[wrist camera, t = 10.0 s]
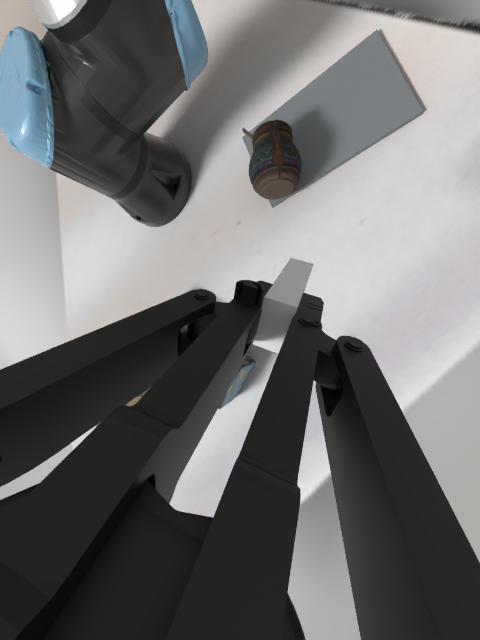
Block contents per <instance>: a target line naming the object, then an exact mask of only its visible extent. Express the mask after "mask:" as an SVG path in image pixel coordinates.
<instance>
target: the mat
mask: <svg viewBox="0 0 480 640" xmlns="http://www.w3.org/2000/svg"><path fill="white" fill-rule="evenodd" d="M422 113H423V109H422V108H421V106H420V104H419V102H418V101H417V99H416V97H415V95H414V94H413V92H412V90H411V88H410V87H409V85H408V83H407V81H406V80H405V78H404V76H403V74H402V73H401V71H400V69H399V67H398V66H397V64H396V62H395V60H394V59H393V57H392V55H391V53H390V52H389V50H388V48H387V46H386V45H385V43H384V41H383V39H382V38H381V36H380V34H379V32H378V31H377V30H376V31H375V32H373V33H372V34H371V35H370V36H368V37H367V38H366V39H365V40H363V41H362V42H361V43H360V44H358V45H357V46H356V47H355V48H353V49H352V50H351V51H350V52H348V53H347V54H346V55H345V56H343V57H342V58H341V59H340V60H338V61H337V62H336V63H335V64H333V65H332V66H331V67H330V68H328V69H327V70H326V71H325V72H323V73H322V74H321V75H320V76H318V77H317V78H316V79H315V80H313V81H312V82H311V83H310V84H308V85H307V86H306V87H305V88H303V89H302V90H301V91H300V92H298V93H297V94H296V95H295V96H293V97H292V98H291V99H290V100H288V101H287V102H286V103H285V104H283V105H282V106H281V107H280V108H278V109H277V110H276V111H275V112H273V113H272V114H271V115H270V116H268V117H267V118H266V119H265V120H263V121H262V122H261V123H260V124H258V125H257V126H256V127H255V128H253V129H252V130H251V131H250V133H251V134H252V135H253V134H254V132H255V130H256V129H257V128H258V127H259V126H260V125H261V124H263V123H265V122H267V121H272V120H276V119H277V120H282V121H284V122H286V123H288V124H289V125H290V127H291V129H292V136H293V143H294V145H295V146H296V148H297V149H298V151H299V154H300V156H301V160H302V169H301V175H300V181H299V183H298V185H297V186H296V188H295V189H294V190H293V191H292V192H291V193H290V194H289V195H288V196H286V197H283V198H280V199H275V200H274V199H273V200H271V199H269V201H270V204H271V206H272V207H275V206H276V205H278V204H280V203H281V202H283V201H284V200H286V199H288V198H289V197H291V196H292V195H294V194H296V193H297V192H299V191H300V190H302V189H304V188H305V187H307V186H308V185H310V184H312V183H313V182H315V181H316V180H318V179H320V178H321V177H323V176H324V175H326V174H327V173H329V172H331V171H332V170H334V169H335V168H337V167H339V166H340V165H342V164H343V163H345V162H347V161H348V160H350V159H351V158H353V157H355V156H356V155H358V154H359V153H361V152H363V151H364V150H366V149H367V148H369V147H371V146H372V145H374V144H375V143H377V142H379V141H380V140H382V139H383V138H385V137H386V136H388V135H390V134H391V133H393V132H394V131H396V130H398V129H399V128H401V127H402V126H404V125H406V124H407V123H409V122H410V121H412V120H414V119H415V118H417V117H418V116H420V115H422ZM242 138H243V140H244V142H245V145H246V147H247V150H248V152H249V154H250V157H252V154H253V144H252V139H251V138H250V137H248V136H247V135H245V136H243V137H242Z"/></svg>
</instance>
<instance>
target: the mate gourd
mask: <svg viewBox="0 0 480 640" xmlns="http://www.w3.org/2000/svg"><path fill="white" fill-rule="evenodd" d="M243 132H244V133H245V134H246V135H247V136H248V137H250V138H251V139H252V144H253V154H252V157H251V160H250V164H249V176H250V180H251V183H252V185H253V188H254V190H255V192H256V193H258V194H259V195H260V196H262V197H263V198H266V199H271V200H273V199H274V200H275V199H280V198H283V197H286V196H288V195H289V194H290V193H291V192H292V191H293V190H294V189H295V188H296V186H297V185H298V183H299V181H300V175H301V169H302V160H301V156H300V154H299V151H298V149H297V148H296V146H295V145H294V143H293V136H292V129H291V127H290V125H289V124H288V123H286V122H284V121H282V120H277V119H276V120H272V121H267V122H265V123H263V124H261V125H260V126H259V127H258V128H257V129H256V130H255V132H254V134H253V135H252V134H251V133H250V132H248V131H247V130H246V129H244V127H243Z"/></svg>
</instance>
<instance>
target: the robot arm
mask: <svg viewBox="0 0 480 640" xmlns="http://www.w3.org/2000/svg"><path fill="white" fill-rule="evenodd" d="M29 2H30V5H31V7H32V10H33V13H34V15H35V16H36V18H37V19H38V20H39V21H40V22H41V23H42V24H43V25H44V26H45V27H46V28H47V29H48V31H47V33H46V35H45V36H44V38H43V39H42V40H39V39H38V38H37V36H36V35H35V34H34V33H33V32H31V31H28V30H26V29H24V28H22V27H15V28H14V31H10V32H9V34H8V35H7V37H6V39H5V41H4V44H3V46H2V50H1V53H0V128H1V130H2V133H3V135H4V137H5V138H6V140H7V141H8V143H9V144H10V145H11V146H12V147H13V148H14V149H16V150H17V151H19V152H20V153H22V154H24V155H25V156H27V157H29V158H31V159H33V160H35V161H36V162H38V163H40V164H41V165H42V166H43V167H45V168H48V169H51V170H53V171H55V172H58V173H60V174H62V175H64V176H66V177H68V178H70V179H72V180H74V181H77V182H79V183H81V184H83V185H85V186H87V187H89V188H91V189H94V190H96V191H98V192H100V193H102V194H104V195H106V196H108V197H110V198H112V199H114V200H115V201H116V202H117V203H118V204H119V205H120V206H121V207H122V208H123V209H124V210H125V211H126V212H127V213H128V214H129V215H130V216H131V217H133V218H134V219H135V220H137V221H138V222H141V223H143V224H145V225H147V226H151V227H159V226H163V225H165V224H167V223H169V222H170V221H172V220H173V219H174V218H175V217H176V216H177V215H178V214H179V212H180V211H181V210H182V208H183V206H184V204H185V202H186V200H187V197H188V194H189V191H190V185H191V171H190V166H189V163H188V161H187V159H186V157H185V155H184V154H183V153H182V152H181V151H180V150H179V149H178V148H177V147H176V146H175V145H173V144H172V143H171V142H169V141H167V140H164V139H161V138H159V137H157V136H154V135H152V134H149V133H147V132H146V131H147V130H148V129H149V128H150V127H151V126H152V124H153V123H154V122H155V121H156V120H157V119H158V118H159V117H160V116H161V115H162V114H163V113H164V112H165V111H166V110H167V109H168V107H169V106H170V105H171V104H172V103H173V102H174V101H175V100H176V99H177V98H178V97H179V96H180V95H181V94H182V93H183V92H184V90H185V91H188V90H189V88H190V84H191V83H192V82H193V81H194V80H195V78H196V77H197V76H198V75H199V74H200V73H201V71H202V70H203V69H204V68H205V66H206V63H207V58H208V47H207V42H206V39H205V36H204V33H203V30H202V27H201V24H200V22H199V19H198V16H197V14H196V11H195V9H194V6H193V4H192V1H191V0H29ZM312 267H313V264H311V263H308V262H304V261H300V260H297V259H293V258H291V259H290V260H289V262H288V263H287V265H286V266H285V268H284V269H283V270H282V272H281V273H280V275H279V276H278V278H277V279H276V281H275V282H274V284H270V283H267V282H264V281H258V282H255V281H250V280H241V281H238V282H236V288H235V294H234V299H233V300H232V301H231V302H230V303H223V302H216V296H215V294H214V293H212V292H210V291H207V290H204V289H199V290H192V291H189V292H187V293H185V294H182V295H180V296H177V297H175V298H173V299H170V300H168V301H165V302H163V303H160V304H158V305H156V306H153V307H151V308H148V309H146V310H144V311H141V312H139V313H136V314H134V315H131V316H129V317H127V318H124V319H122V320H119V321H117V322H115V323H112V324H110V325H107V326H105V327H103V328H100V329H98V330H95V331H93V332H90V333H88V334H86V335H83V336H81V337H78V338H76V339H74V340H71V341H69V342H66V343H64V344H62V345H59V346H57V347H54V348H52V349H49V350H47V351H45V352H42V353H40V354H37V355H35V356H33V357H30V358H28V359H25V360H23V361H21V362H18V363H16V364H13V365H11V366H8V367H6V368H4V369H1V370H0V487H1V486H3V485H5V484H7V483H9V482H11V481H12V480H14V479H16V478H18V477H20V476H21V475H23V474H25V473H27V472H28V471H30V470H32V469H34V468H35V467H36V466H38V465H40V464H41V463H43V462H44V461H46V460H47V459H49V458H50V457H52V456H53V455H55V454H56V453H58V452H59V451H60V450H62V449H63V448H65V447H66V446H68V445H69V444H70V443H72V442H73V441H75V440H76V439H78V438H79V437H80V436H82V435H83V434H85V433H86V432H87V431H89V430H90V429H92V428H93V427H95V426H96V425H97V424H99V423H100V422H101V423H100V424H99V425H98V426H97V427H96V428H95V429H94V430H93V431H92V432H91V433H90V434H89V435H88V436H87V437H86V438H85V439H84V440H83V441H82V442H81V443H80V444H79V445H78V446H77V447H76V448H75V449H74V450H73V451H72V452H71V453H70V454H69V455H68V456H67V457H66V458H65V459H64V460H63V461H62V462H61V463H60V464H59V465H58V466H57V467H56V468H55V469H54V470H53V471H52V472H51V473H50V474H49V475H48V476H47V477H46V478H45V479H44V480H43V481H42V482H41V483H39V484H37V485H34V486H32V487H30V488H27V489H25V490H23V491H20V492H18V493H16V494H14V495H11V496H9V497H6V498H4V499H2V500H0V640H305V636H304V633H303V630H302V627H301V624H300V621H299V618H298V616H297V613H296V611H295V608H294V606H293V603H292V602H291V599H290V597H289V595H288V593H287V591H288V583H289V577H290V569H291V563H292V556H293V549H294V541H295V534H296V527H297V521H298V514H299V506H300V488H299V487H298V486H297V480H298V472H299V466H300V460H301V454H302V448H303V442H304V435H305V429H306V423H307V417H308V411H309V405H310V398H311V392H312V386H313V380H314V381H316V392H317V398H318V403H319V409H320V414H321V420H322V425H323V431H324V437H325V442H326V448H327V453H328V459H329V464H330V470H331V475H332V481H333V486H334V492H335V498H336V503H337V509H338V514H339V520H340V525H341V531H342V537H343V542H344V547H345V553H346V559H347V564H348V570H349V575H350V581H351V587H352V592H353V597H354V602H355V609H356V613H357V620H358V625H359V631H360V636H361V640H480V563H479V561H478V559H477V557H476V555H475V553H474V551H473V549H472V547H471V545H470V543H469V541H468V539H467V537H466V535H465V533H464V531H463V529H462V528H461V526H460V524H459V522H458V520H457V518H456V516H455V514H454V512H453V510H452V508H451V506H450V504H449V502H448V500H447V498H446V496H445V495H444V492H443V491H442V489H441V487H440V485H439V483H438V481H437V479H436V477H435V475H434V473H433V471H432V469H431V467H430V465H429V463H428V461H427V459H426V458H425V456H424V454H423V452H422V450H421V448H420V446H419V444H418V442H417V440H416V438H415V436H414V434H413V432H412V430H411V429H410V426H409V424H408V423H407V420H406V419H405V417H404V415H403V413H402V411H401V409H400V407H399V405H398V403H397V401H396V399H395V397H394V395H393V393H392V391H391V389H390V387H389V385H388V383H387V381H386V380H385V378H384V376H383V374H382V372H381V370H380V368H379V366H378V364H377V362H376V360H375V358H374V356H373V354H372V352H371V350H370V349H369V347H368V346H367V345H366V344H365V343H363V342H362V341H361V340H359V339H357V338H355V337H350V336H340V337H339V338H338V339H337V340H335V339H333V338H331V337H329V336H328V335H326V334H325V333H324V332H323V331H322V324H321V316H322V311H323V305H324V302H323V301H322V299H321V298H319V297H316V296H313V295H309V294H306V293H304V291H305V288H306V285H307V282H308V279H309V276H310V273H311V270H312ZM184 326H186V330H184V331H182V332H181V329H182V328H183V327H184ZM253 339H254V342H253V345H256V346H259V347H261V348H264V349H267V350H270V351H272V352H275V353H278V356H277V359H276V361H275V364H274V367H273V369H272V372H271V374H270V377H269V380H268V382H267V385H266V387H265V390H264V392H263V395H262V398H261V400H260V403H259V405H258V408H257V411H256V413H255V416H254V418H253V421H252V423H251V426H250V429H249V431H248V434H247V436H246V439H245V441H244V444H243V447H242V449H241V452H240V454H239V457H238V458H237V460H236V462H235V464H234V467H233V469H232V472H231V474H230V477H229V479H228V482H227V484H226V487H225V489H224V492H223V495H222V497H221V500H220V502H219V505H218V507H217V510H216V512H215V515H214V518H212V517H207V516H201V515H196V514H191V513H185V512H180V511H177V510H175V509H174V508H172V507H171V505H170V504H169V503H170V501H171V498H172V496H173V493H174V490H175V487H176V484H177V482H178V480H179V478H180V476H181V474H182V472H183V470H184V469H185V467H186V465H187V463H188V461H189V460H190V458H191V456H192V454H193V452H194V450H195V449H196V447H197V445H198V443H199V441H200V440H201V438H202V436H203V434H204V432H205V431H206V429H207V427H208V425H209V423H210V422H211V420H212V418H213V416H214V414H215V412H216V411H217V409H218V407H219V405H220V403H221V402H222V400H223V398H224V396H225V394H226V393H227V391H228V389H229V387H230V385H231V383H232V382H233V380H234V378H235V376H236V374H237V373H238V371H239V369H240V367H241V365H242V364H243V362H244V360H245V358H246V356H247V354H248V353H249V351H250V348H251V343H252V341H253ZM151 386H152V387H151ZM150 387H151V388H150ZM148 388H150V389H149V390H148V391H147V392H146V393H145V394H144V396H143V397H142V398H141V399H140V400H139V401H138V402H137V403H136V404H135V405H133V406H127V405H126V404H127V403H129V402H130V401H131V400H133V399H134V398H136V397H137V396H139V395H140V394H141V393H143V392H144V391H146V390H147V389H148Z"/></svg>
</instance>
